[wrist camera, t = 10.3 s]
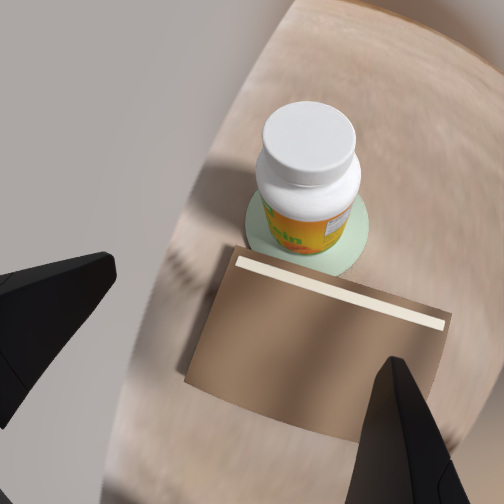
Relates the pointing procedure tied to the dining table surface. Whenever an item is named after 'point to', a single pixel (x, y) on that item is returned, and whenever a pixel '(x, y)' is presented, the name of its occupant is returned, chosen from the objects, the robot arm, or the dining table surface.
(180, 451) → the dining table surface
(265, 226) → the end pad
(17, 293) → the robot arm
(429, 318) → the walnut board
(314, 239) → the supplement bottle
